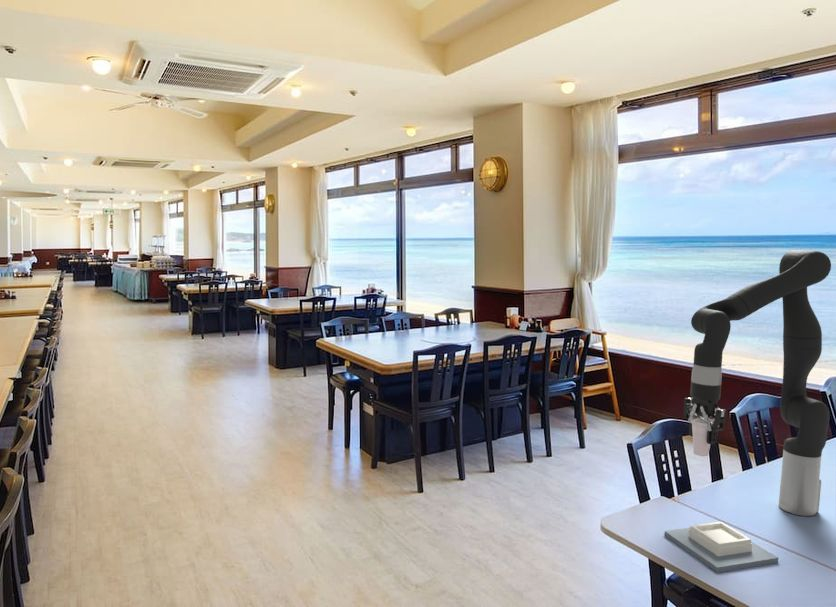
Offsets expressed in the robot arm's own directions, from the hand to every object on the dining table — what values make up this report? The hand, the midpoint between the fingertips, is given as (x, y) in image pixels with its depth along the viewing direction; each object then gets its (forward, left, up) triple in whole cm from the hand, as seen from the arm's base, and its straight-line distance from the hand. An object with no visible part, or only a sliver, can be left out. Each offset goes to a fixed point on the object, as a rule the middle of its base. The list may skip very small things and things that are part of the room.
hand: (701, 439), depth 165 cm
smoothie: (0, 0, -4) cm, 4 cm away
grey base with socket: (+9, +18, -22) cm, 29 cm away
